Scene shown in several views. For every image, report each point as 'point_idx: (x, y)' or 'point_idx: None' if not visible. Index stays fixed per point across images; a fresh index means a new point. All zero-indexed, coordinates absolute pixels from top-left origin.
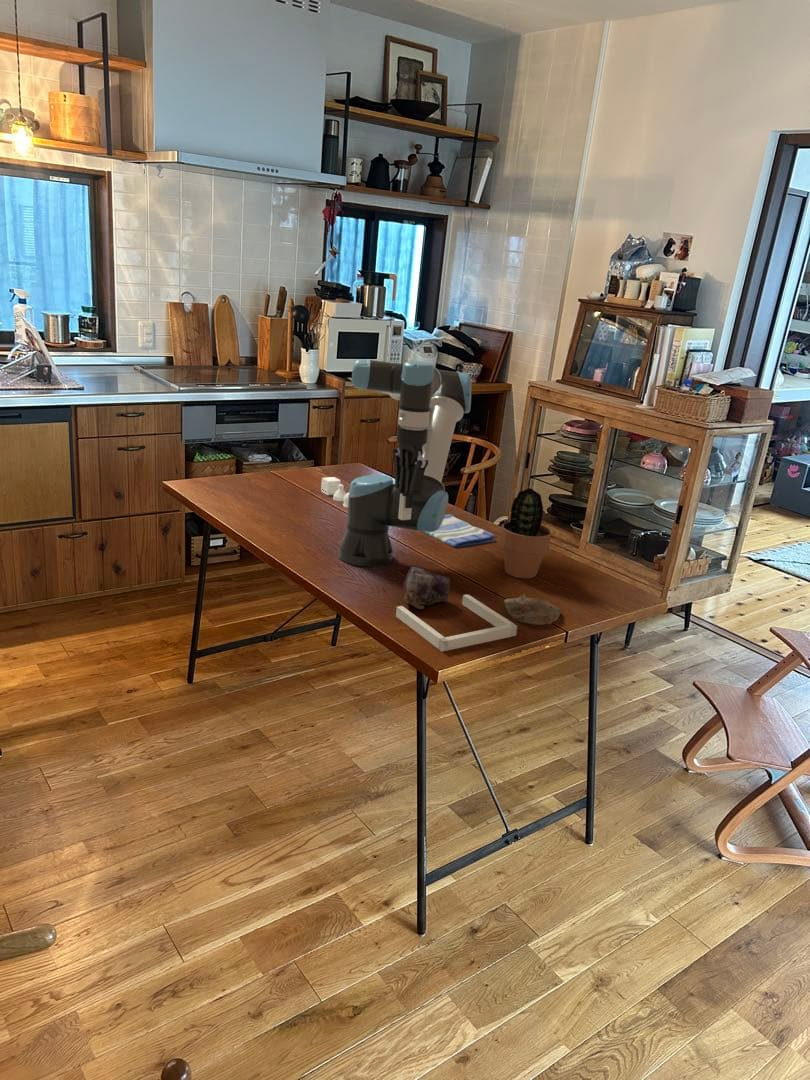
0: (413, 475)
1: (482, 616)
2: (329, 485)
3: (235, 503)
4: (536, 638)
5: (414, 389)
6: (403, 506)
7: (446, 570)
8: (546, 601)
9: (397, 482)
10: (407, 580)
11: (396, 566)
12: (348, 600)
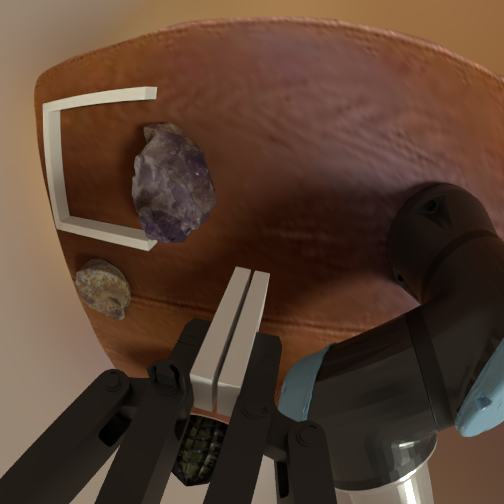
0: (34, 475)
1: (108, 224)
2: None
3: None
4: (60, 238)
5: None
6: (213, 319)
7: (293, 316)
8: (88, 304)
9: (290, 463)
10: (163, 141)
11: (367, 259)
12: (268, 37)
